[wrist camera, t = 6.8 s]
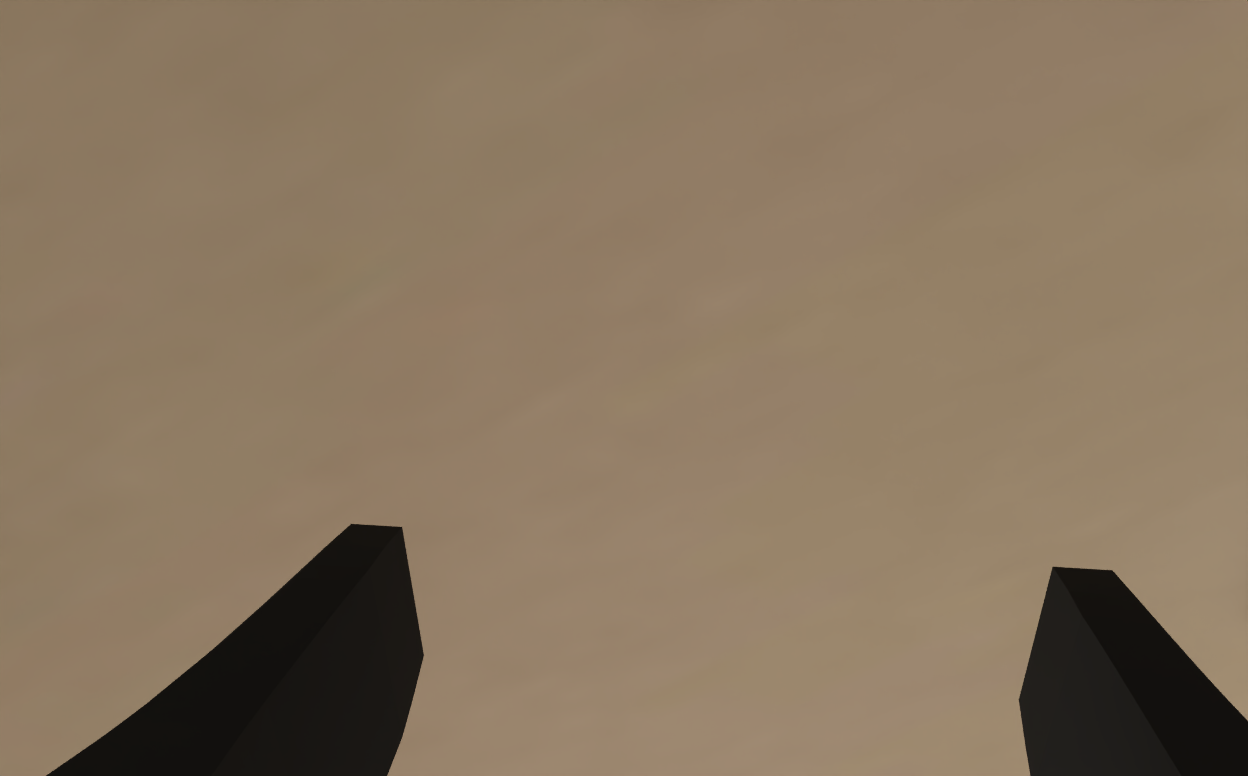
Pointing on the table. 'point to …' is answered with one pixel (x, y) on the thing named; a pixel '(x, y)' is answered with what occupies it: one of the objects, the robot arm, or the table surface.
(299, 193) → the table surface
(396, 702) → the robot arm
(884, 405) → the table surface
